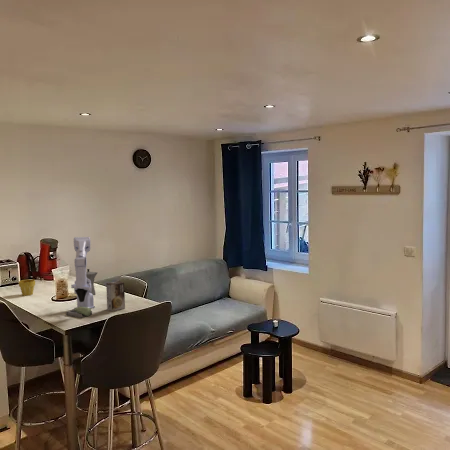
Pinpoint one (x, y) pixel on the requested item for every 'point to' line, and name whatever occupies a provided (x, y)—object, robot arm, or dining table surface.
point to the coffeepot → (91, 279)
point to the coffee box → (115, 295)
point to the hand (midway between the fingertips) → (81, 301)
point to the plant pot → (27, 287)
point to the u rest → (76, 314)
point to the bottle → (83, 310)
